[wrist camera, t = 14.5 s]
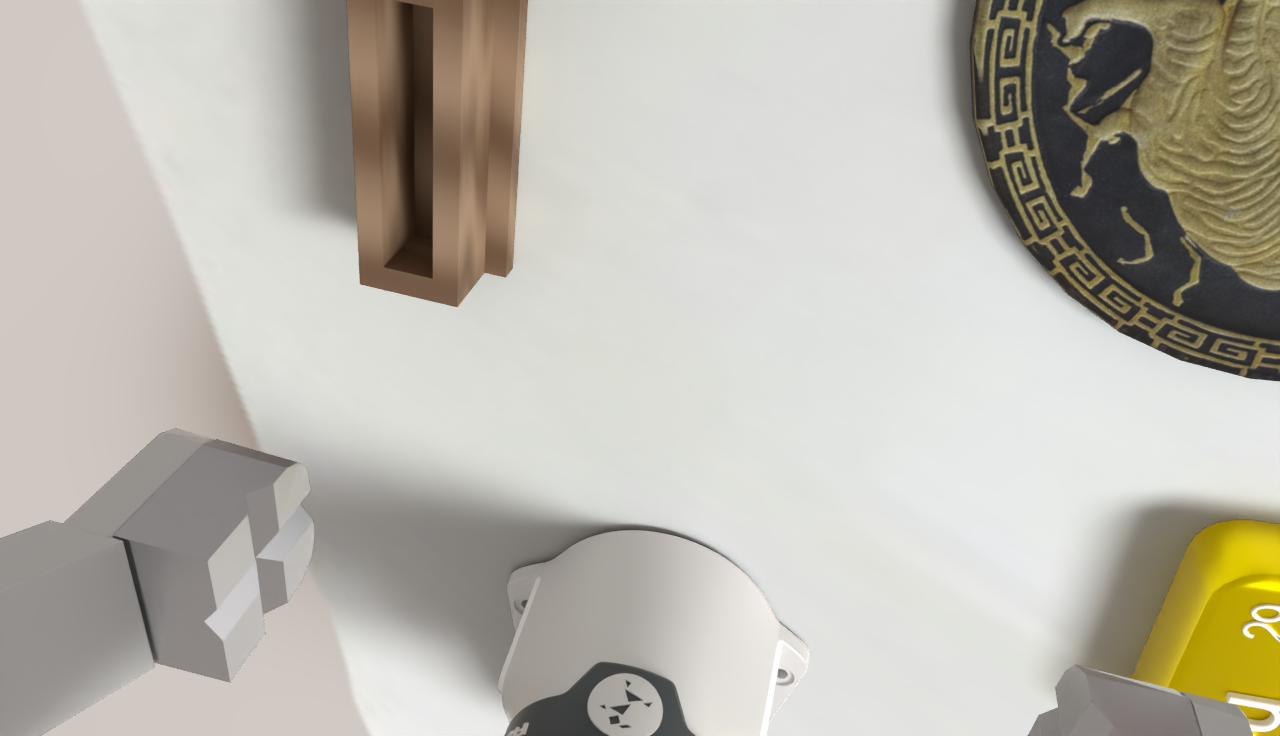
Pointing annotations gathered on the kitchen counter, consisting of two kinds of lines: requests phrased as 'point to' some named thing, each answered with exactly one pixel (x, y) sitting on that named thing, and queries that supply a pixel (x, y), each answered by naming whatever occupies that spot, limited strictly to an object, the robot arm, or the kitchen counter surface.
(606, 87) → the kitchen counter surface
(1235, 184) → the decorative plate
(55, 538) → the robot arm
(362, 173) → the walnut plate stand
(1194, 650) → the element tile
